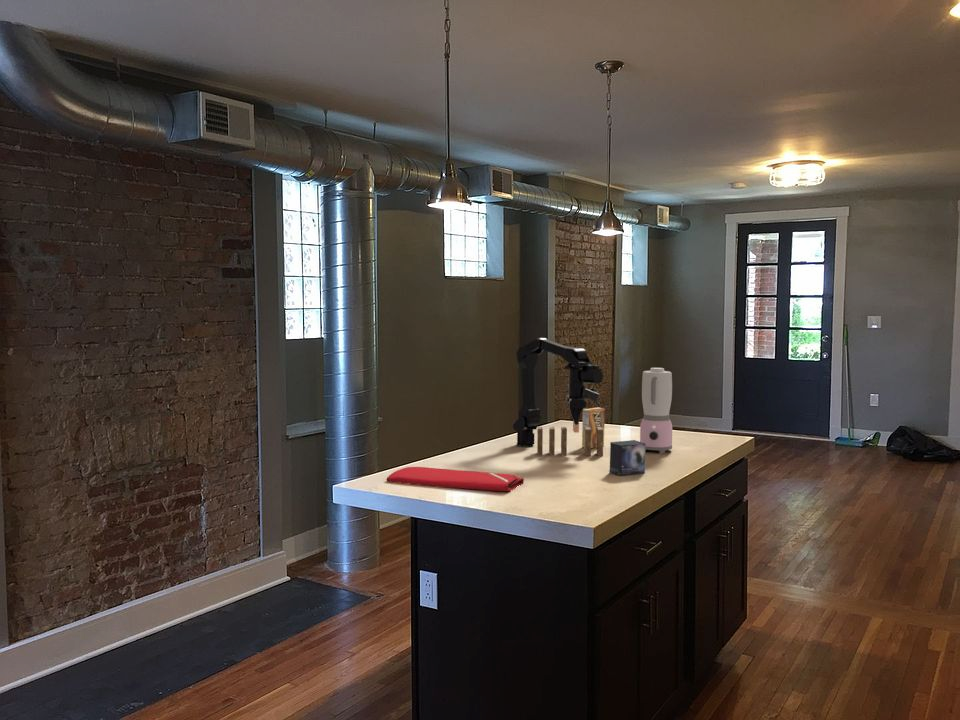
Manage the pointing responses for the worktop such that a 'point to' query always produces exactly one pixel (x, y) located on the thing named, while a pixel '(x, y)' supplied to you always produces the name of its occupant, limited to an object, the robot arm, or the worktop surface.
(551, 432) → the domino
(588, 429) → the domino
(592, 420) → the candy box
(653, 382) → the blender
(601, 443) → the domino
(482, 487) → the dish drying mat
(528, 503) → the worktop surface
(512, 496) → the worktop surface
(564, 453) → the domino
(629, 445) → the small box
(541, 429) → the domino
